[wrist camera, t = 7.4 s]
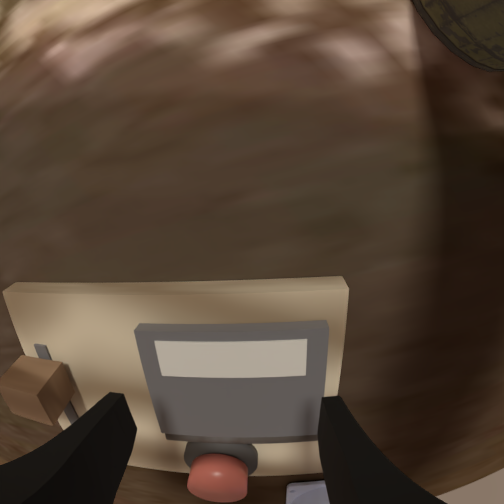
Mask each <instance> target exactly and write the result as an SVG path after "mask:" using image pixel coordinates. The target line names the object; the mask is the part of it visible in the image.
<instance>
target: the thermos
mask: <svg viewBox="0 0 504 504" xmlns="http://www.w3.org/2000/svg"><path fill="white" fill-rule="evenodd" d="M413 2H414V5H415V7H416V9H417V11H418V13H419V14H420V15H421V17H422V18H423V20H424V21H425V22H426V24H427V25H428V27H429V28H430V30H431V31H432V32H433V34H434V35H435V36H437V37H438V38H439V39H440V40H441V41H442V42H443V43H444V44H445V45H446V47H447V48H448V49H449V50H450V51H451V52H453V53H454V54H456V55H457V56H459V57H460V58H462V59H463V60H464V61H466V62H467V63H469V64H470V65H472V66H475V67H478V68H481V69H483V70H486V71H504V0H413Z"/></svg>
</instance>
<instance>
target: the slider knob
mask: <svg viewBox="0 0 504 504" xmlns="http://www.w3.org/2000/svg"><path fill="white" fill-rule="evenodd" d="M0 393H1V394H2V396H3V398H4V400H5V402H6V403H7V405H8V407H9V408H10V410H11V412H12V413H14V414H16V415H19V416H22V417H25V418H28V419H32V420H35V421H38V422H41V423H45V424H48V425H52V426H54V425H55V423H56V421H57V420H58V418H59V417H60V415H61V414H62V412H63V410H64V409H65V407H66V406H67V404H68V403H69V401H70V399H71V398H72V396H73V395H74V393H75V391H74V388H73V386H72V384H71V382H70V379H69V377H68V375H67V372H66V370H65V367H64V365H63V362H60V361H53V360H47V359H41V358H35V357H30V356H25V355H21V356H20V357H19V358H18V359H17V360H16V362H15V363H14V364H13V365H12V366H11V367H10V368H9V369H8V370H7V371H6V372H5V374H4V375H3V376H2V377H1V378H0Z"/></svg>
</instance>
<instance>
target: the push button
mask: <svg viewBox="0 0 504 504" xmlns="http://www.w3.org/2000/svg"><path fill="white" fill-rule="evenodd" d="M247 481H248V467H247V466H246V464H245V463H244V462H242V461H241V460H239V459H237V458H235V457H232V456H228V455H224V454H204V455H201V456H198V457H196V458H195V459H194V460H193V461H192V464H191V469H190V474H189V479H188V484H187V487H188V490H189V491H190V492H191V493H192V494H194V495H195V496H197V497H199V498H201V499H204V500H208V501H212V502H222V503H226V502H235V501H238V500H241V499H243V498H244V497H245V496H246V494H247Z"/></svg>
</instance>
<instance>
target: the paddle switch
mask: <svg viewBox="0 0 504 504" xmlns="http://www.w3.org/2000/svg"><path fill="white" fill-rule="evenodd" d="M134 334H135V339H136V343H137V347H138V351H139V356H140V360H141V364H142V368H143V371H144V375H145V379H146V383H147V386H148V390H149V393H150V397H151V400H152V404H153V407H154V411H155V414H156V417H157V420H158V423H159V427H160V430H161V433H166V434H176V435H189V436H206V437H287V436H303V435H316V434H317V431H318V424H319V416H320V407H321V398H322V397H324V391H325V380H326V369H327V356H328V342H329V326H328V323H327V320H316V321H298V322H275V323H243V324H151V323H139V324H138V326H137V327H136V328H135V330H134Z"/></svg>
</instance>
